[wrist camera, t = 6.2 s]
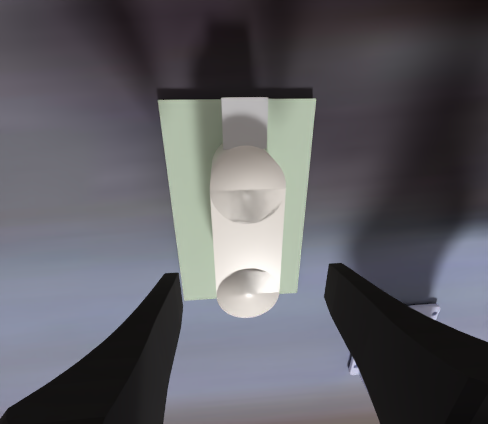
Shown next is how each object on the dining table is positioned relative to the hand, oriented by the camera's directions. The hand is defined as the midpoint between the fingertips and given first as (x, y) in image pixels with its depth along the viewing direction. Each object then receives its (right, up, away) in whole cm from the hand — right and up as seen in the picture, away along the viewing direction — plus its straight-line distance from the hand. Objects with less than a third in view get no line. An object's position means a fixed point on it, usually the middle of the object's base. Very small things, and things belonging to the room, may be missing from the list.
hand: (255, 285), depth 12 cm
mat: (-1, +4, +8) cm, 9 cm away
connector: (-1, +5, +7) cm, 8 cm away
